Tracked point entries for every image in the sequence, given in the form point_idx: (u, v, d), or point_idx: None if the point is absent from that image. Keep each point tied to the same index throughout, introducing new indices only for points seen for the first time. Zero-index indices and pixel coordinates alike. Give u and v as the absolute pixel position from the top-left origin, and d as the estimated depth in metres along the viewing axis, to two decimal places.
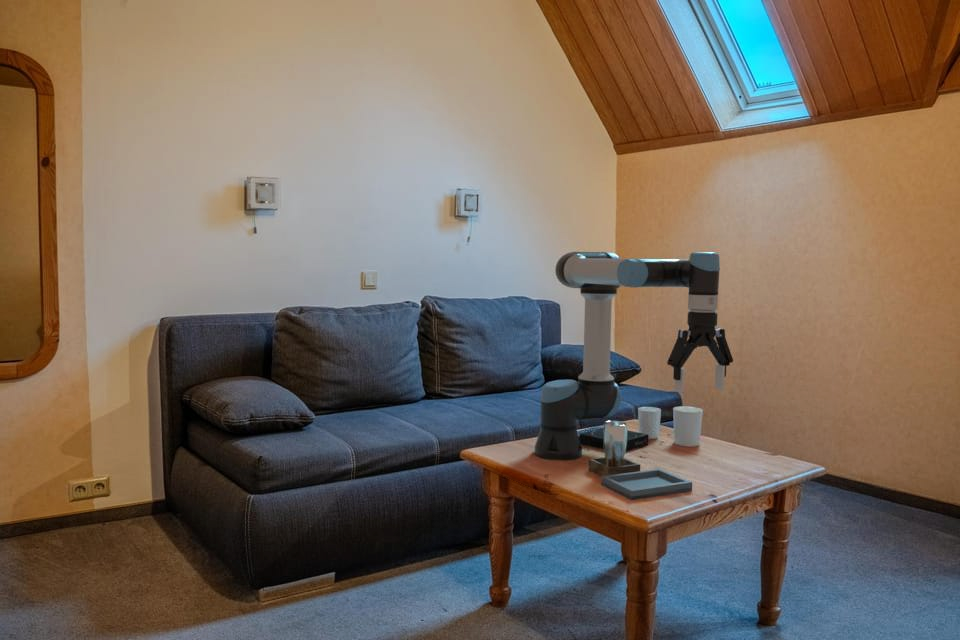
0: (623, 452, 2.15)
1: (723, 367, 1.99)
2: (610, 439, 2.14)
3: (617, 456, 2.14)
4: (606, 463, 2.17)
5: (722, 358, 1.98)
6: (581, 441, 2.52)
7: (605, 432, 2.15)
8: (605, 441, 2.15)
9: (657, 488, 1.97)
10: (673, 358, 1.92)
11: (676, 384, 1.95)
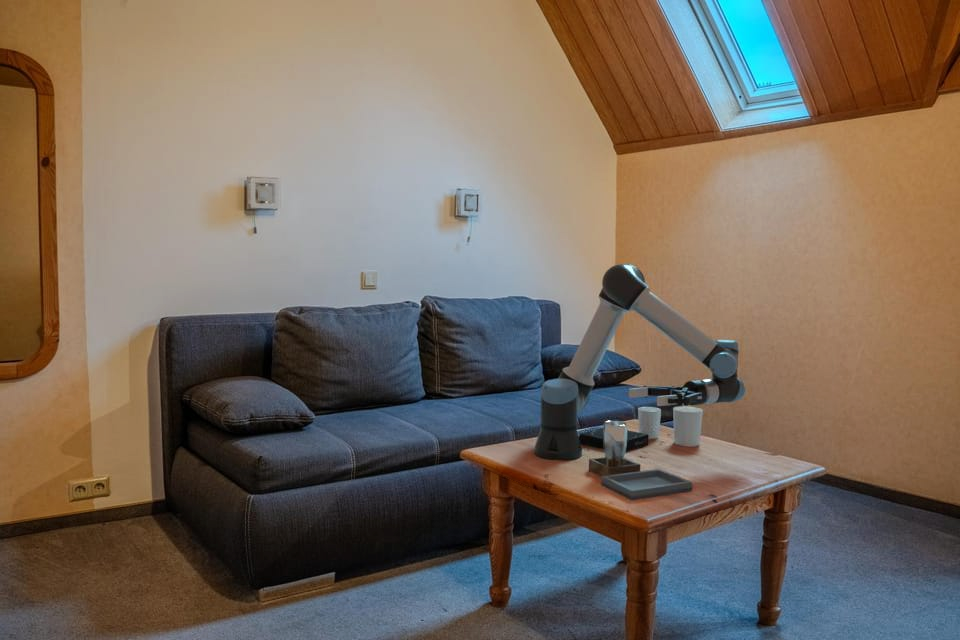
0: (623, 452, 2.15)
1: (645, 396, 2.29)
2: (610, 439, 2.14)
3: (617, 456, 2.14)
4: (606, 463, 2.17)
5: None
6: (581, 441, 2.52)
7: (605, 432, 2.15)
8: (605, 441, 2.15)
9: (657, 488, 1.97)
10: (689, 402, 2.15)
11: (664, 398, 2.14)
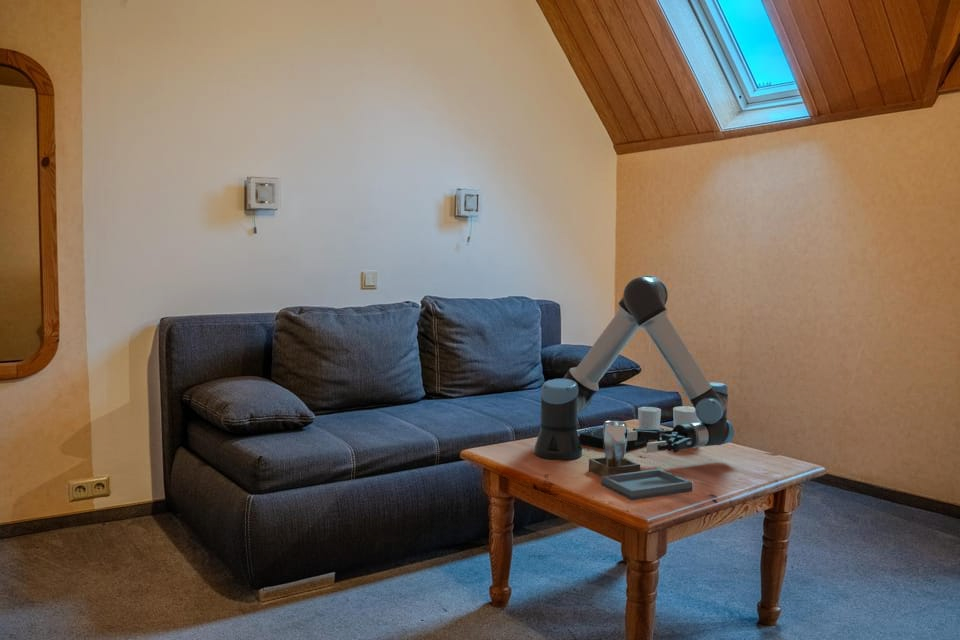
0: (623, 452, 2.15)
1: (635, 439, 2.28)
2: (610, 439, 2.14)
3: (617, 456, 2.14)
4: (606, 463, 2.17)
5: None
6: (581, 441, 2.52)
7: (605, 432, 2.15)
8: (605, 441, 2.15)
9: (657, 488, 1.97)
10: (678, 448, 2.14)
11: (653, 444, 2.13)
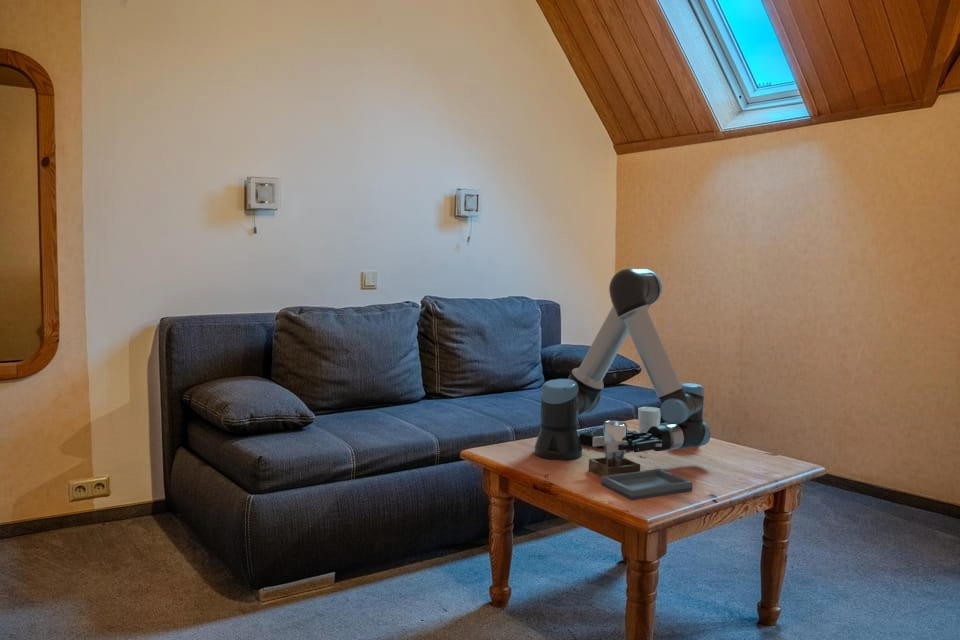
0: (623, 452, 2.15)
1: None
2: (610, 439, 2.14)
3: (617, 456, 2.14)
4: (606, 463, 2.17)
5: None
6: (581, 441, 2.52)
7: (605, 432, 2.15)
8: (605, 441, 2.15)
9: (657, 488, 1.97)
10: (640, 449, 2.12)
11: (614, 444, 2.12)
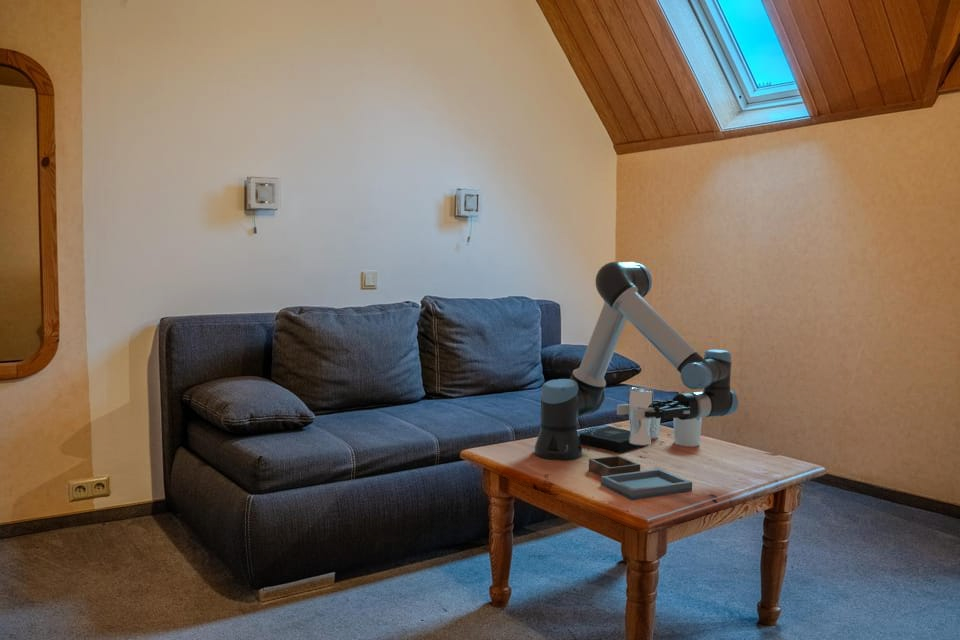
0: (649, 420, 2.05)
1: None
2: (636, 406, 2.04)
3: (643, 424, 2.04)
4: (631, 432, 2.06)
5: None
6: (581, 441, 2.52)
7: (630, 399, 2.05)
8: (630, 408, 2.05)
9: (657, 488, 1.97)
10: (668, 416, 2.02)
11: (640, 411, 2.02)
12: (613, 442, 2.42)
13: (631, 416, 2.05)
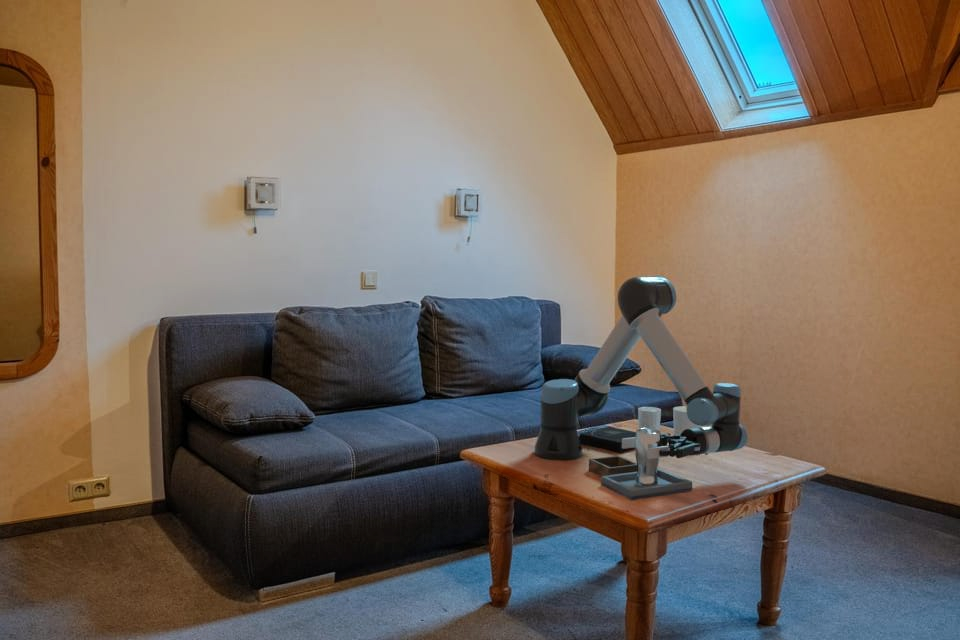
0: (657, 462, 2.01)
1: None
2: (643, 448, 2.00)
3: (650, 466, 2.01)
4: (638, 473, 2.03)
5: None
6: (581, 441, 2.52)
7: (637, 440, 2.02)
8: (637, 450, 2.02)
9: (657, 488, 1.97)
10: (682, 454, 1.98)
11: (655, 450, 1.97)
12: (613, 442, 2.42)
13: (638, 458, 2.02)
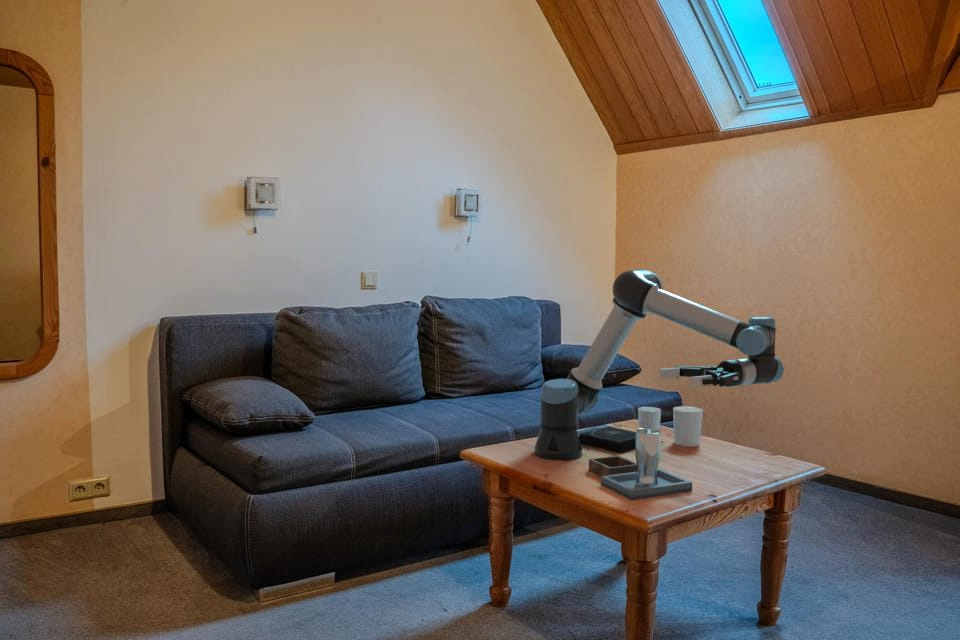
0: (657, 462, 2.01)
1: (677, 377, 2.15)
2: (643, 448, 2.00)
3: (650, 466, 2.01)
4: (638, 474, 2.03)
5: None
6: (581, 441, 2.52)
7: (637, 441, 2.01)
8: (637, 450, 2.02)
9: (657, 488, 1.97)
10: (725, 383, 2.01)
11: (698, 379, 2.00)
12: (613, 442, 2.42)
13: (638, 458, 2.02)
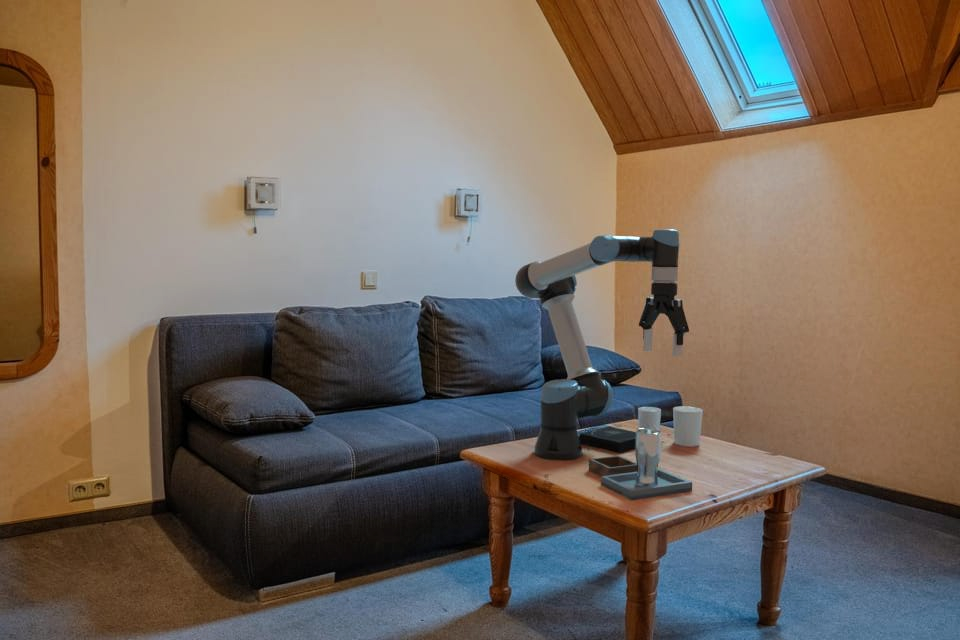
0: (657, 462, 2.01)
1: None
2: (643, 448, 2.00)
3: (650, 467, 2.01)
4: (638, 474, 2.03)
5: None
6: (581, 441, 2.52)
7: (637, 441, 2.01)
8: (637, 450, 2.01)
9: (657, 488, 1.97)
10: (686, 325, 2.12)
11: (676, 349, 2.15)
12: (613, 442, 2.42)
13: (638, 458, 2.02)
